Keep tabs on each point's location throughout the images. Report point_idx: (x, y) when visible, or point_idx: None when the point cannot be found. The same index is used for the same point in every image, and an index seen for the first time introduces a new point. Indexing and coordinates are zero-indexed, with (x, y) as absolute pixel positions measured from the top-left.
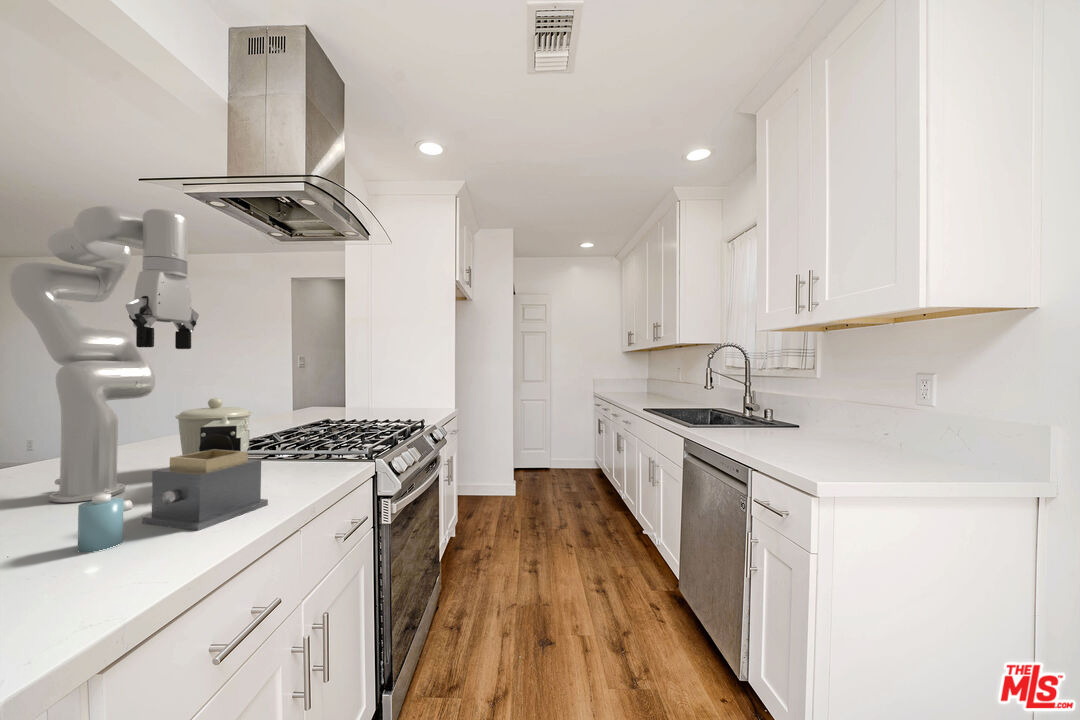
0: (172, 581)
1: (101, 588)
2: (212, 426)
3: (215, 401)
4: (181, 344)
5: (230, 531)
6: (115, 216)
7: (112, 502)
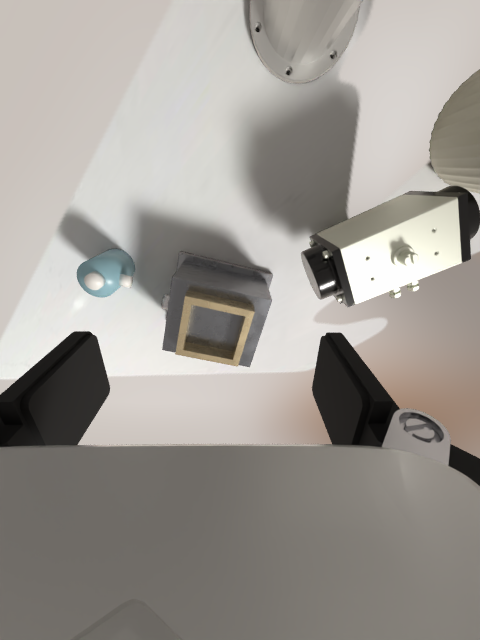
0: None
1: (60, 335)
2: (343, 267)
3: None
4: (323, 375)
5: None
6: None
7: (101, 290)
